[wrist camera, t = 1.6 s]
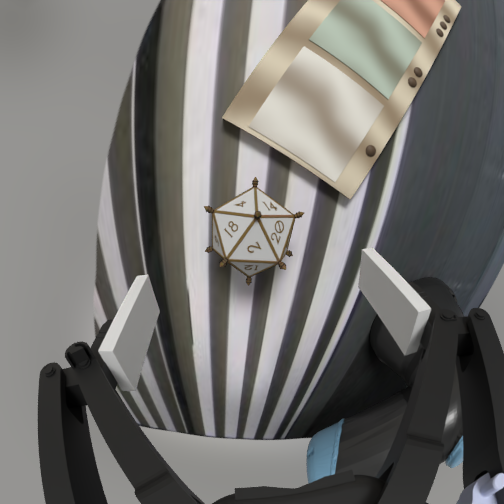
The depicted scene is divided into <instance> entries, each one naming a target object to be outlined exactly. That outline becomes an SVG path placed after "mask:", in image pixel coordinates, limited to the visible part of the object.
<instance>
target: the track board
mask: <svg viewBox="0 0 504 504" xmlns="http://www.w3.org/2000/svg"><path fill="white" fill-rule="evenodd" d="M460 8H461V6H460V5H459V4H458V3H457V2H456V1H455V0H308V1H307V2H306V4H305V5H304V6H303V7H302V8H301V9H300V11H299V12H298V13H297V14H296V15H295V17H294V18H293V19H292V20H291V22H290V23H289V24H288V25H287V26H286V28H285V29H284V30H283V32H282V33H281V34H280V35H279V37H278V38H277V39H276V41H275V42H274V43H273V44H272V46H271V47H270V48H269V50H268V51H267V52H266V54H265V55H264V57H263V58H262V59H261V61H260V62H259V63H258V65H257V66H256V68H255V69H254V70H253V72H252V73H251V75H250V76H249V78H248V79H247V81H246V82H245V83H244V85H243V86H242V88H241V89H240V91H239V92H238V94H237V95H236V97H235V98H234V100H233V101H232V103H231V105H230V106H229V108H228V109H227V111H226V112H225V114H224V116H223V117H222V118H223V119H225V120H226V121H228V122H230V123H232V124H234V125H235V126H237V127H239V128H241V129H242V130H244V131H246V132H248V133H249V134H251V135H253V136H255V137H256V138H258V139H260V140H261V141H263V142H265V143H266V144H268V145H270V146H271V147H273V148H275V149H276V150H278V151H279V152H281V153H283V154H284V155H286V156H287V157H289V158H290V159H292V160H294V161H295V162H297V163H298V164H300V165H301V166H303V167H304V168H306V169H307V170H309V171H310V172H312V173H313V174H315V175H316V176H318V177H319V178H320V179H322V180H323V181H325V182H326V183H328V184H329V185H331V186H332V187H333V188H335V189H336V190H338V191H339V192H340V193H342V194H343V195H344V196H346V197H347V198H349V199H351V198H352V196H353V195H354V193H355V192H356V190H357V189H358V187H359V186H360V184H361V183H362V181H363V180H364V178H365V177H366V175H367V174H368V172H369V170H370V169H371V167H372V166H373V164H374V163H375V161H376V159H377V158H378V156H379V155H380V153H381V152H382V150H383V148H384V147H385V145H386V144H387V142H388V140H389V139H390V137H391V135H392V134H393V132H394V131H395V129H396V127H397V126H398V124H399V122H400V121H401V119H402V117H403V116H404V114H405V112H406V110H407V109H408V107H409V105H410V104H411V102H412V100H413V98H414V97H415V95H416V93H417V91H418V90H419V88H420V86H421V84H422V82H423V81H424V79H425V77H426V75H427V73H428V72H429V70H430V68H431V66H432V64H433V62H434V60H435V59H436V57H437V55H438V53H439V51H440V49H441V47H442V45H443V43H444V41H445V39H446V37H447V35H448V33H449V31H450V29H451V27H452V25H453V23H454V21H455V19H456V17H457V15H458V12H459V10H460Z"/></svg>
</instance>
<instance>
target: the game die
mask: <svg viewBox="0 0 504 504" xmlns="http://www.w3.org/2000/svg"><path fill="white" fill-rule="evenodd" d="M258 182H259V181H258V180H257V178H256V177H255V178H254V180H253V183H252V184H253V187H252V188H250V189H249V190H247V191H245V192H243V193H242V194H240V195H238V196H237V197H235V198H233V199H231V200H230V201H228V202H226V203H225V204H223V205H221V206H219V207H218V208H216V209H214V210H213V209H212V207H210V206H204V208H205V210H206V212H208V213H212V247H210V246H209V247H207V249H206V250H205V252H208V253H209V252H211V251H212V250H214V251H215V252H216V253H217V254H218V255H220V256H221V257H222V258H223V260H221V262H219V263H220V267H223V266H224V267H225V265H227V262H228V263H229V264H230V265H232V266H233V267H235V268H236V269H237V270H239V271H240V272H242V273H243V274H244V275H246V276H247V279H246V283H247V284H248V286H249V284H250V283H251V280H252V279H251V276H253V275H256V274H258V273H260V272H262V271H264V270H267V269H269V268H271V267H273V266H275V265H277V264H278V265H279V267H280V269H285V270H286V265H285V263H283V262H281V261H282V259H283V257H284V256H285V254H286V255H288V256H289V257H290V256H293V255H292V252H291V251H290V250H289V251H287V249H288V246H289V242H290V238H291V234H292V230H293V225H294V221H295V218H299V217H302V215H303V214H304V212H298V213H296V214H295V215H294V214H292V213H291V212H290V211H288V210H287V209H286V208H284V207H283V206H282V205H280V204H279V203H278V202H276V201H275V200H274V199H272V198H271V197H269V196H268V195H267V194H265V193H264V192H263V191H261V190H260V189H258V188H257V185H258Z"/></svg>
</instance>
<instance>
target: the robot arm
mask: <svg viewBox="0 0 504 504" xmlns="http://www.w3.org/2000/svg"><path fill="white" fill-rule="evenodd" d="M359 289H360V290H361V291H362V293H363V294H364V296H365V297H366V298H367V300H368V301H369V303H370V304H371V306H372V307H373V308H374V310H375V311H376V313H377V314H378V315H377V316H376V318H375V320H374V323H373V325H372V328H371V333H370V343H371V346H372V348H373V350H374V352H375V354H376V356H377V357H378V359H379V360H380V361H381V362H383V363H384V364H386V365H387V366H388V367H390V368H391V369H392V370H393V371H394V372H396V373H397V374H398V375H399V376H401V377H402V378H403V379H404V380H405V382H406V384H407V386H408V387H407V388H405V389H403V390H402V391H400V392H398V393H396V394H395V395H393V396H391V397H389V398H387V399H386V400H384V401H382V402H380V403H378V404H376V405H374V406H372V407H370V408H368V409H366V410H364V411H362V412H360V413H358V414H356V415H354V416H351V417H349V418H347V419H341V420H340V421H339V422H338V423H336V424H334V425H332V426H330V427H328V428H325V429H323V430H321V431H319V432H317V433H316V434H315V435H314V436H313V437H312V439H311V441H310V443H309V446H308V450H307V476H308V483H309V484H306V485H304V486H302V487H300V488H295V489H290V488H277V487H266V486H262V487H250V488H235V494H232V495H228V496H226V497H223V498H221V499H219V500H217V501H216V502H214V503H213V504H428V503H426V500H427V497H428V495H429V492H430V490H431V487H432V484H433V481H434V479H435V476H436V473H437V470H438V467H439V464H441V463H442V462H444V461H446V462H445V463H446V465H448V466H449V467H450V468H453V467H456V466H457V465H459V464H460V463H462V462H463V484H464V490H463V491H462V493H461V495H460V498H459V500H458V502H457V504H504V353H503V350H502V347H501V344H500V341H499V339H498V336H497V333H496V331H495V328H494V325H493V323H492V320H491V318H490V316H489V314H488V313H487V312H486V311H485V310H483V309H480V308H473V309H471V310H470V312H469V315H468V317H464V315H463V313H462V311H461V309H460V307H459V305H458V304H457V299H456V296H455V294H454V293H453V291H452V290H451V289H450V288H449V287H448V286H447V285H446V284H445V283H444V282H443V281H441V280H439V279H437V278H432V277H428V278H422V279H419V280H416V281H413V282H409V283H407V282H406V281H405V280H404V279H403V278H402V277H401V276H400V275H399V274H398V272H397V271H396V270H395V269H394V268H393V267H392V266H391V265H390V264H389V263H388V262H387V261H386V260H385V259H384V258H382V257H381V256H380V255H379V254H378V253H377V252H376V251H375V250H374V249H373V248H368V249H362V256H361V267H360V278H359ZM159 312H160V311H159V308H158V304H157V301H156V298H155V295H154V292H153V289H152V286H151V282H150V279H149V276H148V275H141V276H137V277H136V279H135V281H134V282H133V284H132V286H131V288H130V290H129V291H128V293H127V295H126V297H125V299H124V301H123V303H122V304H121V306H120V308H119V310H118V312H117V314H116V316H115V318H114V320H108V321H107V322H106V323H104V324H103V325H102V327H101V329H100V331H99V334H97V336H96V339H95V340H94V342H93V344H92V346H91V348H90V347H89V346H88V344H87V343H85V342H77V343H74V344H72V345H71V346H70V347H69V348H68V349H67V350H66V352H65V358H66V359H67V361H68V362H69V364H70V365H71V367H70V368H66V369H62V368H61V367H60V365H58V363H49V364H47V365H46V366H44V367H43V369H42V370H41V372H40V378H39V393H38V394H39V395H38V442H39V443H38V444H39V458H40V468H41V477H42V483H43V489H44V496H45V501H46V504H108V503H107V500H106V497H105V494H104V491H103V487H102V484H101V481H100V477H99V473H98V469H97V465H96V461H95V457H94V452H93V447H92V443H91V438H90V432H89V426H88V420H87V414H86V406H85V405H88V407H89V409H90V411H91V413H92V416H93V417H94V420H95V422H96V424H97V426H98V428H99V430H100V432H101V434H102V435H103V437H104V439H105V441H106V443H107V445H108V446H109V448H110V450H111V452H112V454H113V455H114V457H115V459H116V460H117V462H118V464H119V465H120V467H121V468H122V470H123V472H124V473H125V475H126V476H127V478H128V479H129V481H130V482H131V484H132V485H133V487H134V488H135V495H136V497H137V498H138V500H139V501H140V503H141V504H204V503H203V502H202V501H201V500H200V499H199V498H198V497H197V496H196V495H195V494H194V493H193V492H192V491H191V490H190V489H189V488H188V487H187V486H186V485H185V484H184V482H183V481H182V480H181V479H180V478H179V477H178V476H177V474H176V473H175V472H174V471H173V470H172V469H171V467H170V466H169V465H168V464H167V463H166V461H165V460H164V459H163V458H162V457H161V455H160V454H159V453H158V451H157V450H156V449H155V447H154V446H153V445H152V444H151V442H150V441H149V439H148V438H147V437H146V435H145V434H144V433H143V431H142V430H141V428H140V427H139V425H138V424H137V423H136V421H135V420H134V418H133V417H132V415H131V414H130V412H129V410H128V409H127V407H126V406H125V404H124V403H123V401H122V399H121V398H120V396H119V394H118V393H117V391H116V390H115V389H116V386H117V384H118V385H119V387H120V388H121V390H122V391H136V388H137V384H138V381H139V377H140V374H141V370H142V367H143V363H144V360H145V356H146V353H147V350H148V347H149V343H150V340H151V337H152V334H153V331H154V328H155V324H156V321H157V318H158V315H159Z"/></svg>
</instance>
